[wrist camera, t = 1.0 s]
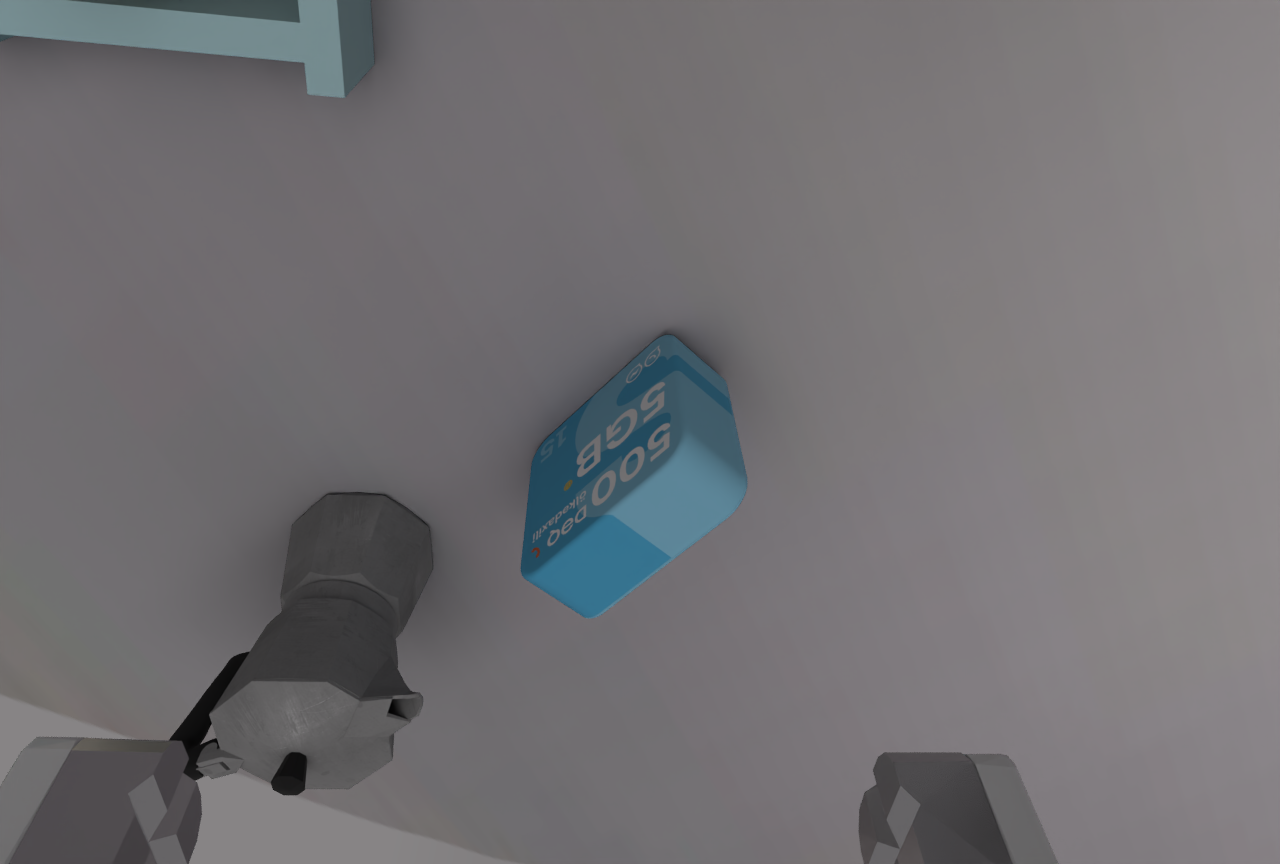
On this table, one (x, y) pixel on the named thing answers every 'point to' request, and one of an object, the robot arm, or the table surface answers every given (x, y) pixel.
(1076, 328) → the table surface
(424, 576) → the coffeepot
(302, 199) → the table surface
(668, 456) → the data package
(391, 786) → the table surface
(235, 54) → the tray
